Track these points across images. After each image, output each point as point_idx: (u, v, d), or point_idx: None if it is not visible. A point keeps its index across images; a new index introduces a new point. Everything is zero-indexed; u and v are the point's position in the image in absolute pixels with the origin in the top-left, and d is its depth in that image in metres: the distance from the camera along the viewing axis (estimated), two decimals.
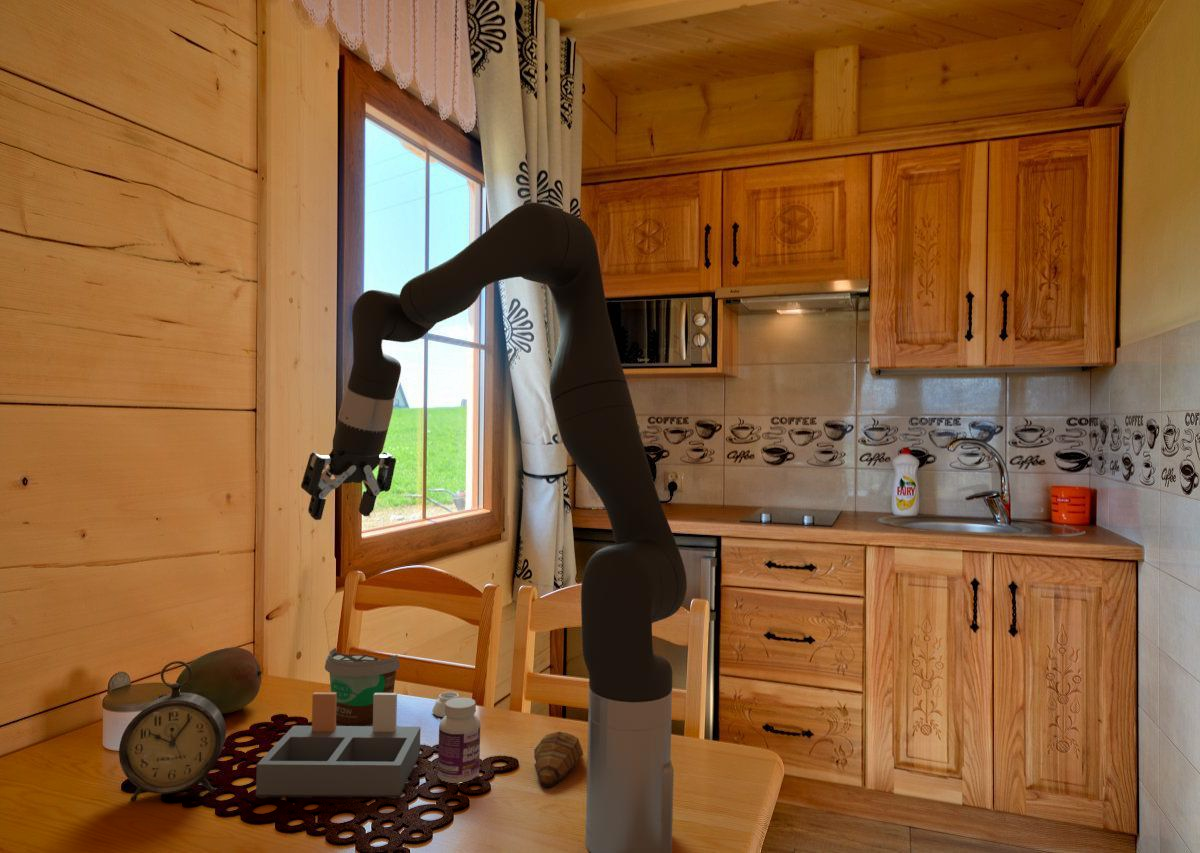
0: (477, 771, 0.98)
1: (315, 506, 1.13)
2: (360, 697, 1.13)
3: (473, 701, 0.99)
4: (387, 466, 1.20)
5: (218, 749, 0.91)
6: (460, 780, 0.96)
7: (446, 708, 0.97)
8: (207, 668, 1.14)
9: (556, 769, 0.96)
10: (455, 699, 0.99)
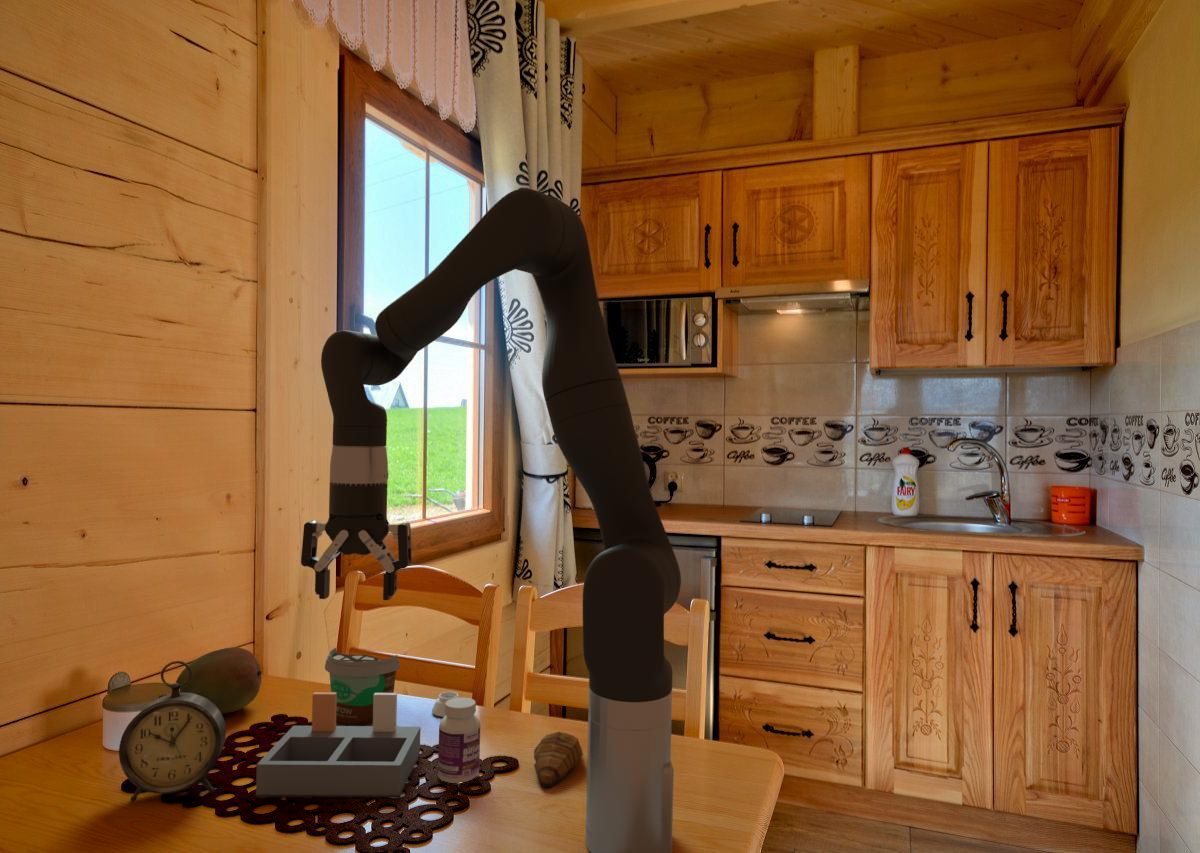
0: (477, 771, 0.98)
1: (316, 581, 1.01)
2: (360, 697, 1.13)
3: (473, 701, 0.99)
4: (396, 535, 1.01)
5: (218, 749, 0.91)
6: (460, 780, 0.96)
7: (446, 708, 0.97)
8: (207, 668, 1.14)
9: (555, 770, 0.96)
10: (455, 699, 0.99)
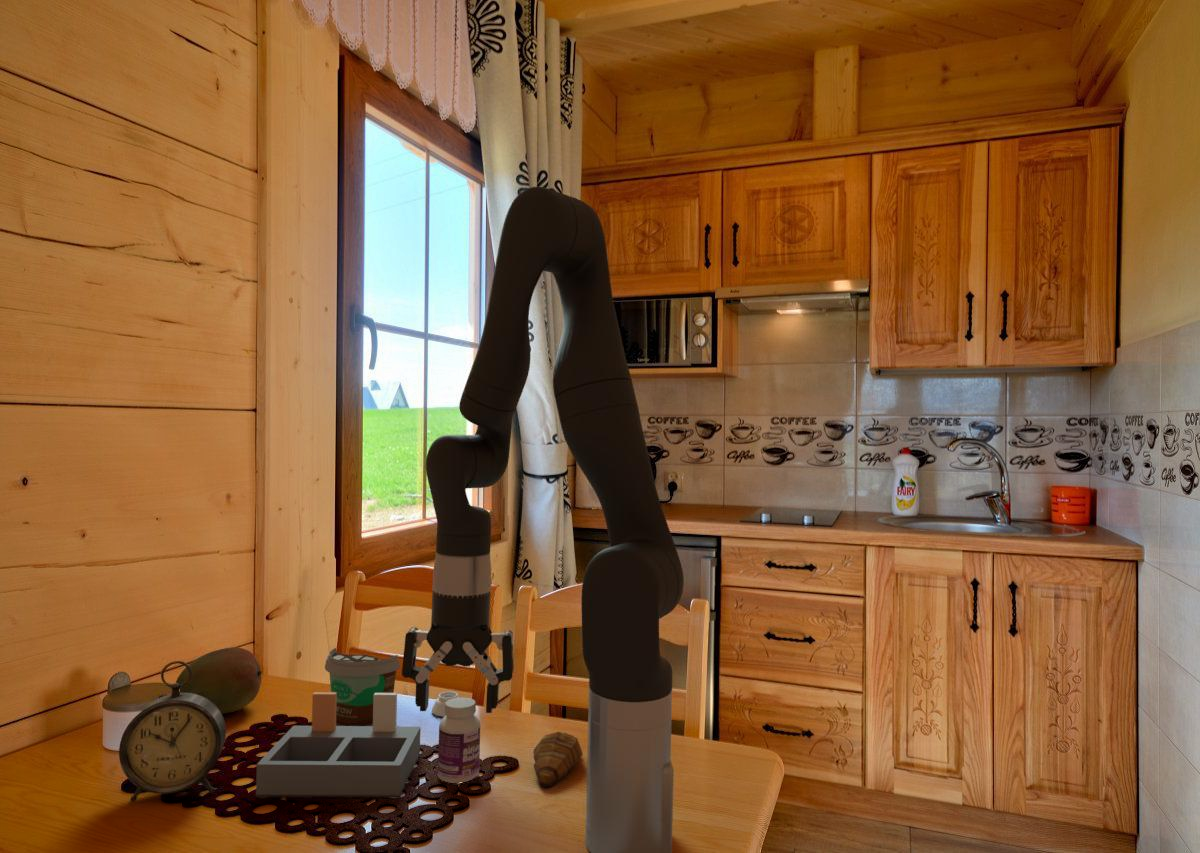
0: (477, 771, 0.98)
1: (417, 693, 0.97)
2: (360, 697, 1.13)
3: (473, 701, 0.99)
4: (501, 646, 0.97)
5: (218, 749, 0.91)
6: (460, 780, 0.96)
7: (446, 708, 0.97)
8: (207, 668, 1.14)
9: (555, 770, 0.96)
10: (455, 699, 0.99)
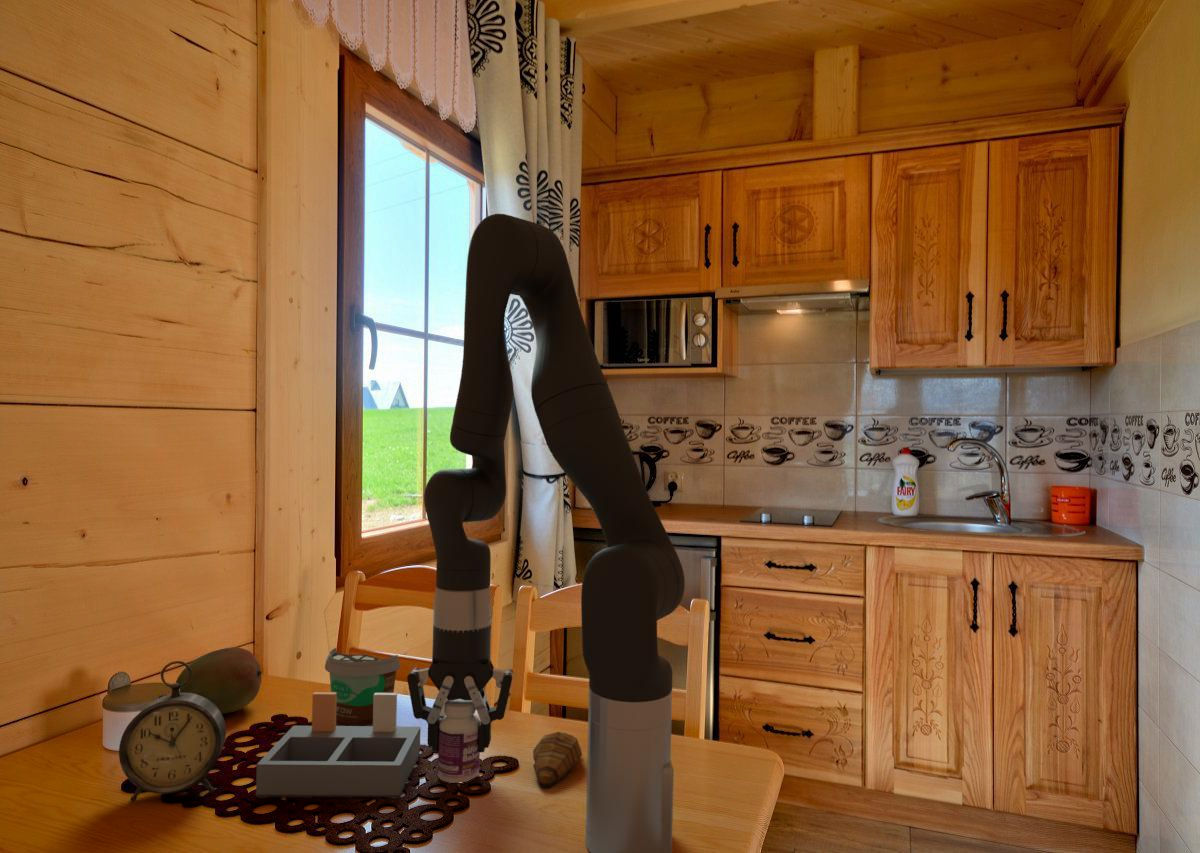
0: (477, 770, 0.98)
1: (429, 733, 0.97)
2: (360, 697, 1.13)
3: None
4: (500, 684, 0.97)
5: (218, 749, 0.91)
6: (460, 780, 0.96)
7: (446, 708, 0.97)
8: (207, 668, 1.14)
9: (554, 770, 0.96)
10: None
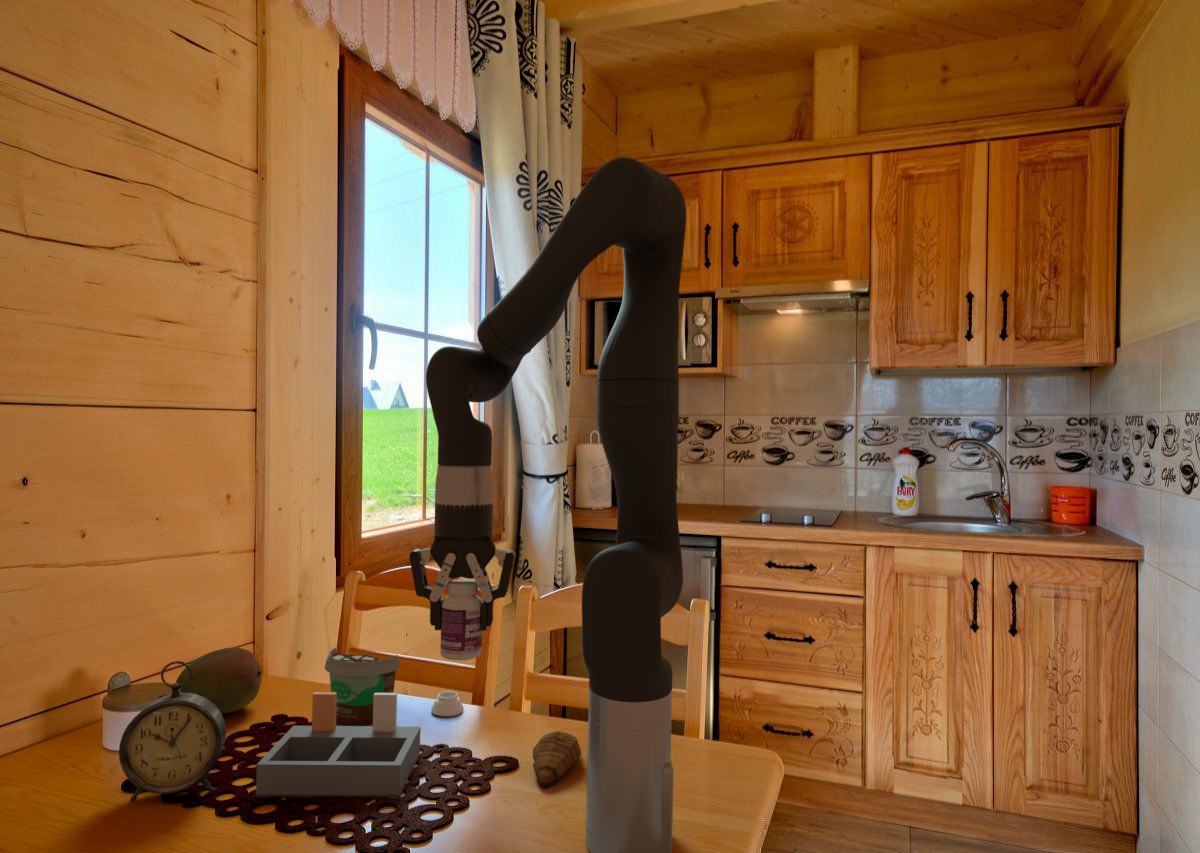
0: (480, 649, 0.98)
1: (431, 612, 0.97)
2: (360, 697, 1.13)
3: (475, 581, 0.99)
4: (502, 562, 0.97)
5: (218, 749, 0.91)
6: (463, 656, 0.96)
7: (448, 586, 0.97)
8: (207, 668, 1.14)
9: (554, 769, 0.96)
10: (457, 580, 0.99)
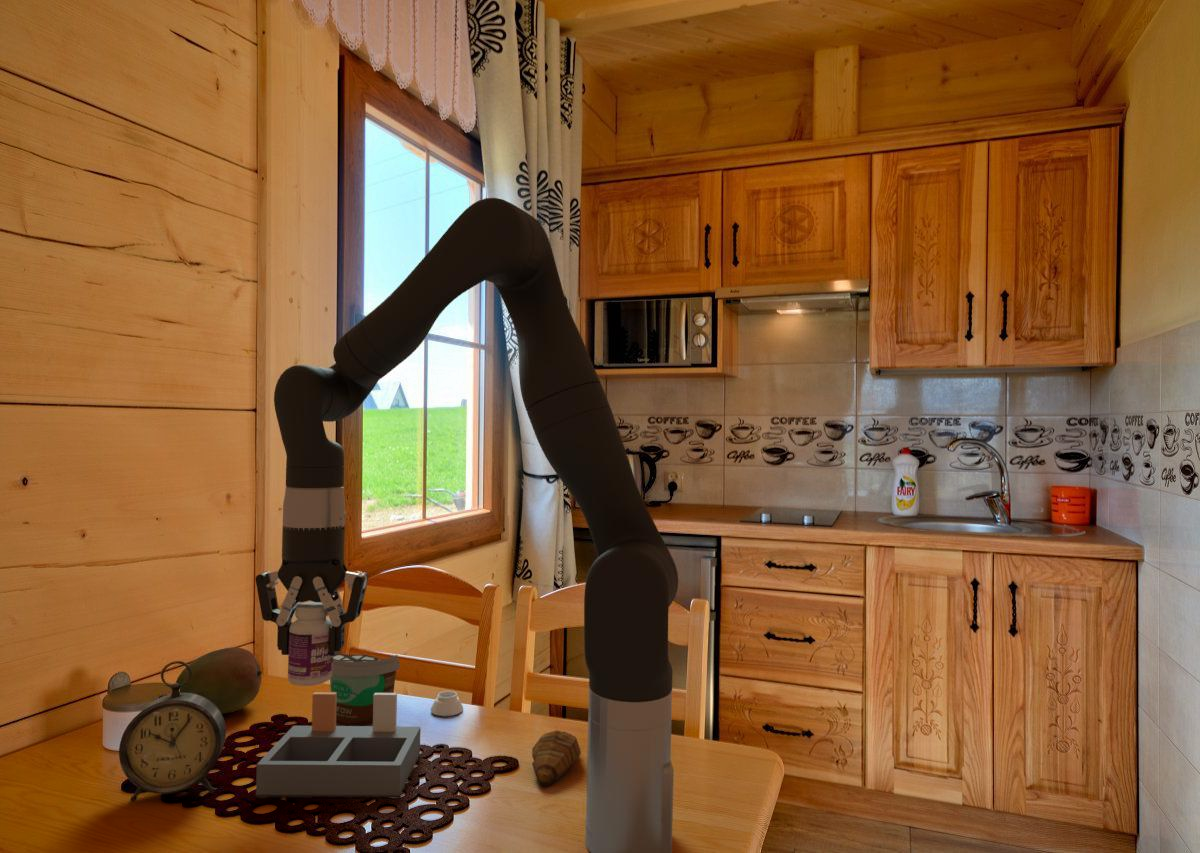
0: (328, 674, 0.96)
1: (278, 636, 0.95)
2: (360, 697, 1.13)
3: None
4: (351, 586, 0.95)
5: (218, 749, 0.91)
6: (308, 681, 0.94)
7: (296, 610, 0.95)
8: (207, 668, 1.14)
9: (553, 768, 0.96)
10: (308, 603, 0.97)
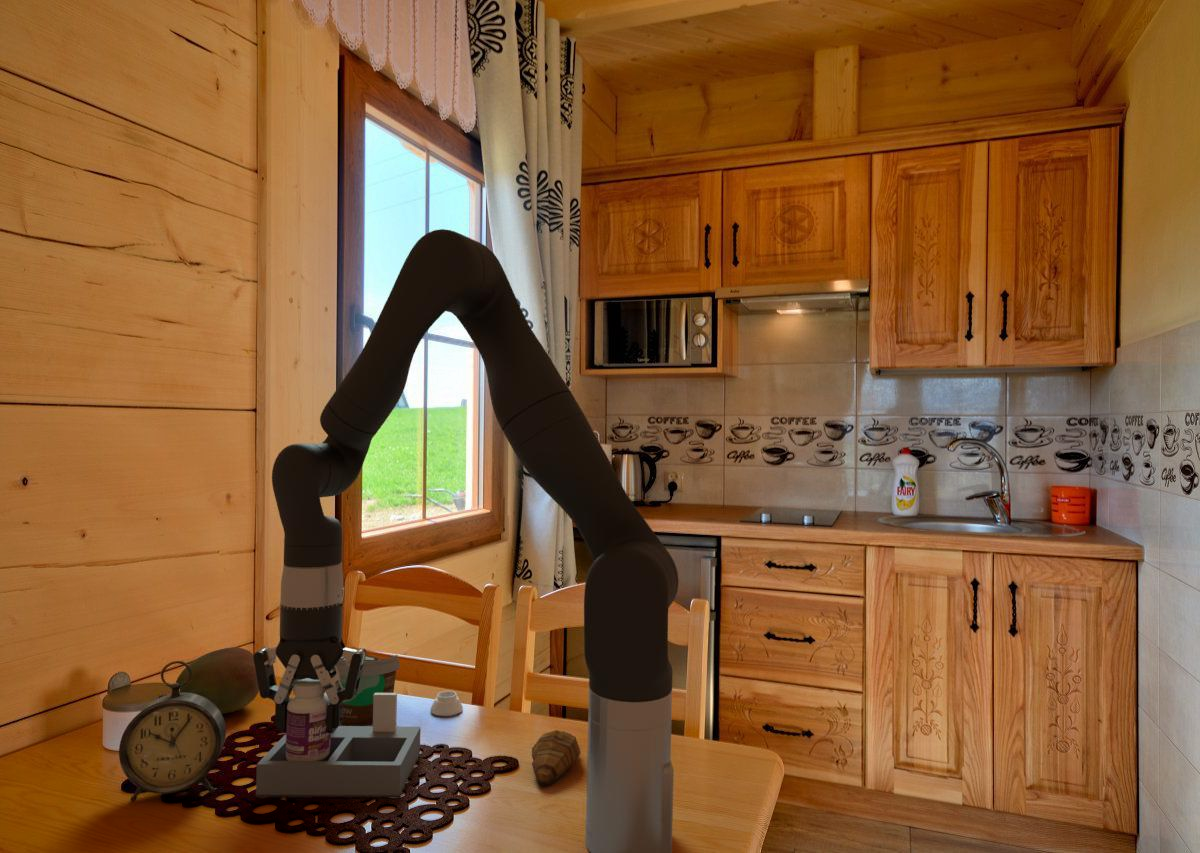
0: (326, 751, 0.96)
1: (276, 714, 0.95)
2: (360, 697, 1.13)
3: None
4: (349, 663, 0.95)
5: (218, 749, 0.91)
6: (305, 760, 0.94)
7: (293, 687, 0.95)
8: (207, 668, 1.14)
9: (553, 768, 0.96)
10: (306, 679, 0.97)
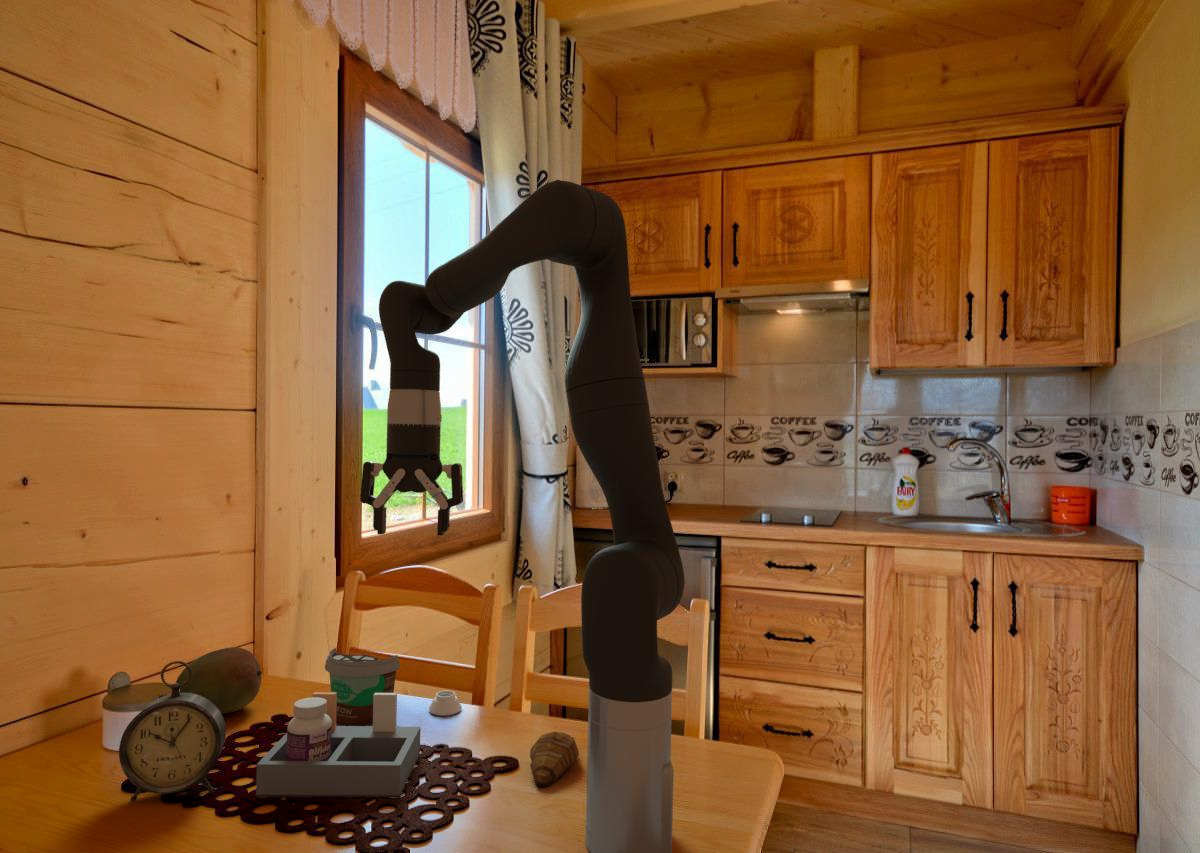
0: None
1: (374, 518, 1.07)
2: (360, 697, 1.13)
3: (324, 701, 0.97)
4: (450, 474, 1.07)
5: (218, 749, 0.91)
6: None
7: (294, 708, 0.95)
8: (207, 668, 1.14)
9: (551, 769, 0.96)
10: (306, 699, 0.97)
